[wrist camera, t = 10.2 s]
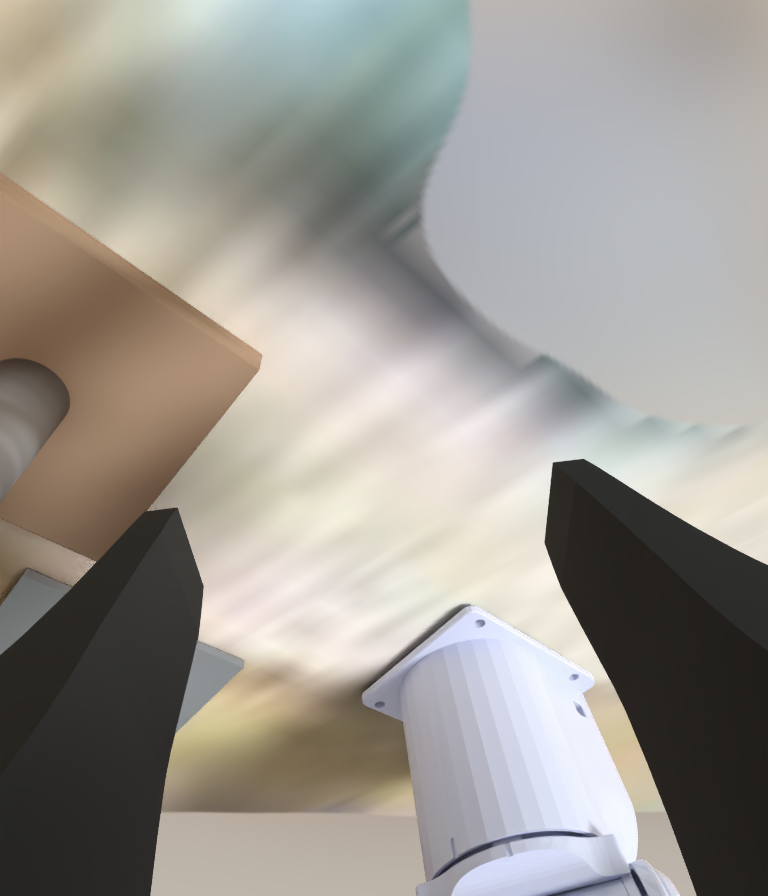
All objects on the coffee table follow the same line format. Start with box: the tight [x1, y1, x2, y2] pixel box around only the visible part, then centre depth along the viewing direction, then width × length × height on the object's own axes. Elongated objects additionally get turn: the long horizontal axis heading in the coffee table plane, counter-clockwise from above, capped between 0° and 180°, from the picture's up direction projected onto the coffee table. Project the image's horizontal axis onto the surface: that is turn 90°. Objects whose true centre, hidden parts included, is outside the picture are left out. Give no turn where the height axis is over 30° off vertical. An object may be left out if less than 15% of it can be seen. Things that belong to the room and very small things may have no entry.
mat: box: [0, 568, 244, 733], centre depth 26 cm, size 10×10×1 cm
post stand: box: [0, 173, 262, 561], centre depth 16 cm, size 10×10×6 cm
